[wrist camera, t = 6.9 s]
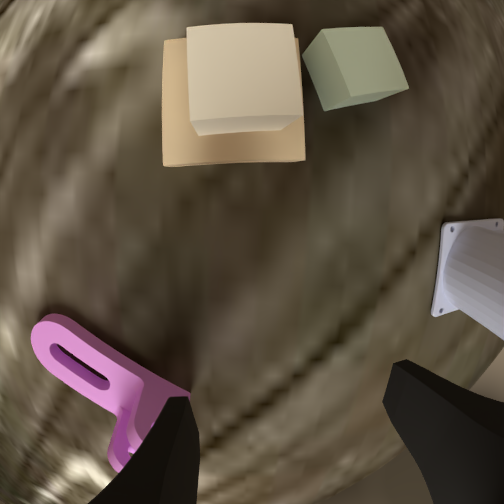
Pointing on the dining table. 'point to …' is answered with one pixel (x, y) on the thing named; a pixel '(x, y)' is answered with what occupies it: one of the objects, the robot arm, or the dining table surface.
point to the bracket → (104, 381)
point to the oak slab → (216, 145)
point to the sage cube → (353, 66)
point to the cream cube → (242, 77)
